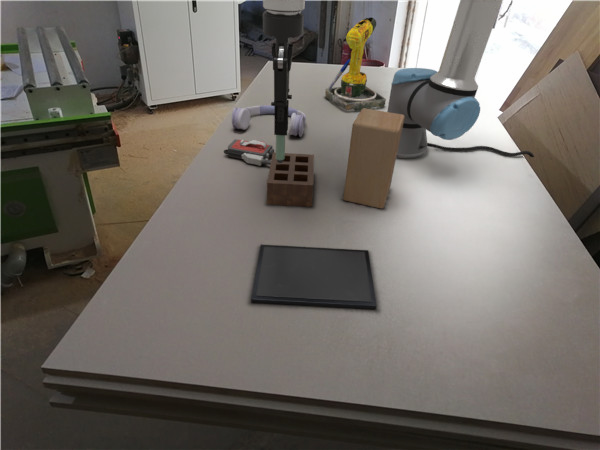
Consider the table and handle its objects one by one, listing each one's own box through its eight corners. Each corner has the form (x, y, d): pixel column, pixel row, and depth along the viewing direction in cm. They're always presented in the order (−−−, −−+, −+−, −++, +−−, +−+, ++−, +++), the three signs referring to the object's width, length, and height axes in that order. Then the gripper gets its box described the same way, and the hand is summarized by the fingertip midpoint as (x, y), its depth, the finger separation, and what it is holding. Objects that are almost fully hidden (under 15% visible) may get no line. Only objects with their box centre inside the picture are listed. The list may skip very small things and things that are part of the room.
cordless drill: (389, 107, 150) (403, 24, 133) (344, 112, 143) (353, 27, 127) (363, 91, 163) (373, 15, 147) (321, 96, 157) (327, 17, 140)
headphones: (300, 141, 123) (311, 120, 140) (301, 118, 119) (313, 100, 136) (230, 132, 126) (249, 113, 143) (229, 110, 123) (249, 93, 139)
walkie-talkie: (220, 159, 112) (288, 172, 108) (218, 145, 110) (288, 157, 106) (233, 146, 119) (298, 158, 115) (232, 132, 117) (298, 144, 112)
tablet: (367, 253, 83) (368, 249, 82) (375, 309, 71) (376, 305, 70) (260, 247, 83) (260, 243, 82) (251, 302, 71) (251, 298, 70)
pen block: (312, 174, 108) (313, 154, 104) (311, 206, 96) (313, 185, 92) (272, 172, 108) (272, 152, 104) (267, 204, 96) (266, 182, 92)
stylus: (284, 160, 93) (286, 86, 83) (284, 164, 91) (286, 89, 81) (276, 159, 93) (276, 85, 83) (275, 164, 91) (276, 88, 81)
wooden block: (389, 189, 104) (405, 114, 92) (383, 209, 96) (399, 131, 84) (351, 181, 106) (362, 107, 94) (342, 200, 98) (352, 122, 86)
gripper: (267, 3, 80) (267, 117, 94) (257, 17, 68) (260, 146, 82) (305, 5, 80) (299, 119, 94) (302, 20, 68) (297, 148, 82)
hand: (281, 131), depth 88 cm, fingers closed on stylus, 2 cm apart
